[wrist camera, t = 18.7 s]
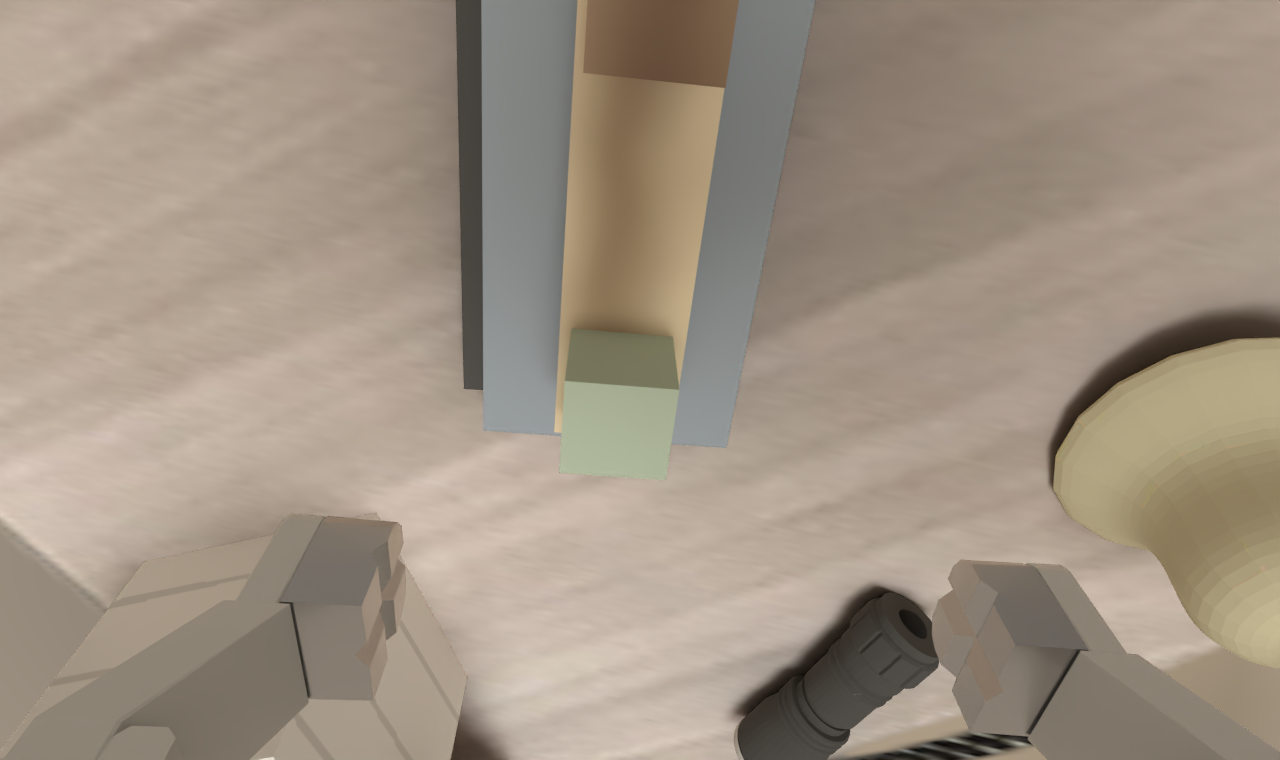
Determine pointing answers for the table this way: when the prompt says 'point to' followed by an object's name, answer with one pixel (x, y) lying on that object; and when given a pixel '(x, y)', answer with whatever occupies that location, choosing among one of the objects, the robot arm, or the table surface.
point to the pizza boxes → (324, 729)
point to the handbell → (1192, 483)
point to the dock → (537, 197)
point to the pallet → (633, 205)
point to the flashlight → (842, 684)
